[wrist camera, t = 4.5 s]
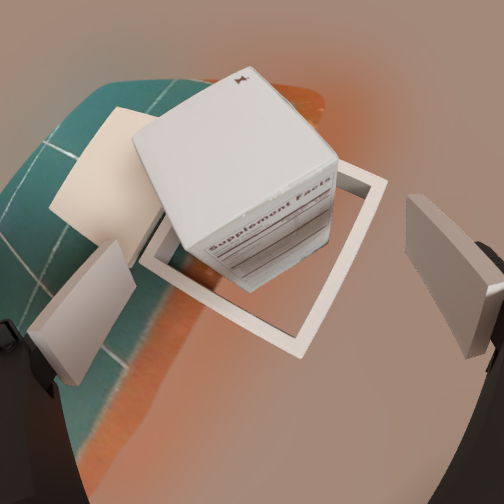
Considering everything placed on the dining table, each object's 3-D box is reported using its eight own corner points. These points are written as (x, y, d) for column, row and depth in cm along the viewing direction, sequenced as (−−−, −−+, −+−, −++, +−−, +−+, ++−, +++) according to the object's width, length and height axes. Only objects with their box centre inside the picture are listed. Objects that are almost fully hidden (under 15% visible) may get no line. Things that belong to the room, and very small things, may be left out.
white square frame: (153, 269, 26) (138, 262, 24) (235, 136, 28) (229, 119, 26) (302, 357, 22) (301, 359, 19) (382, 195, 24) (388, 181, 21)
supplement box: (205, 220, 26) (126, 133, 14) (281, 174, 26) (252, 59, 14) (248, 297, 24) (180, 253, 12) (332, 245, 24) (344, 154, 12)
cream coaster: (53, 210, 30) (48, 208, 30) (119, 110, 32) (116, 106, 32) (131, 268, 26) (126, 266, 26) (212, 138, 28) (210, 133, 28)
